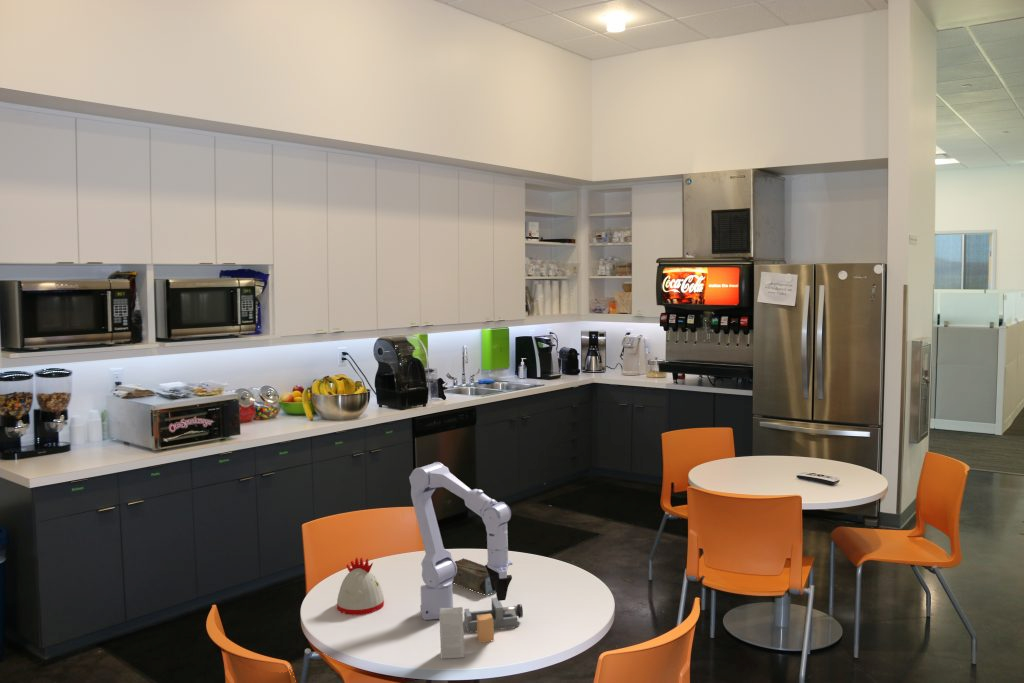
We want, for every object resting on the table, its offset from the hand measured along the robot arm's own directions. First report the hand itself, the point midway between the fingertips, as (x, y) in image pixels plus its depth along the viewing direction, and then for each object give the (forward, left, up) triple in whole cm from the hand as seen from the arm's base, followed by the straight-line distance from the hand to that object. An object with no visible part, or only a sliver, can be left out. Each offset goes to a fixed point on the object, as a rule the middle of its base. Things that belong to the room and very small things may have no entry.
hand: (498, 595), depth 235 cm
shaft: (+4, +3, -8) cm, 10 cm away
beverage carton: (-2, +35, -10) cm, 36 cm away
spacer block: (-5, -5, -10) cm, 12 cm away
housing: (-2, +4, -10) cm, 10 cm away
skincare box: (-15, -13, -10) cm, 22 cm away
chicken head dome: (-38, +27, -10) cm, 47 cm away
